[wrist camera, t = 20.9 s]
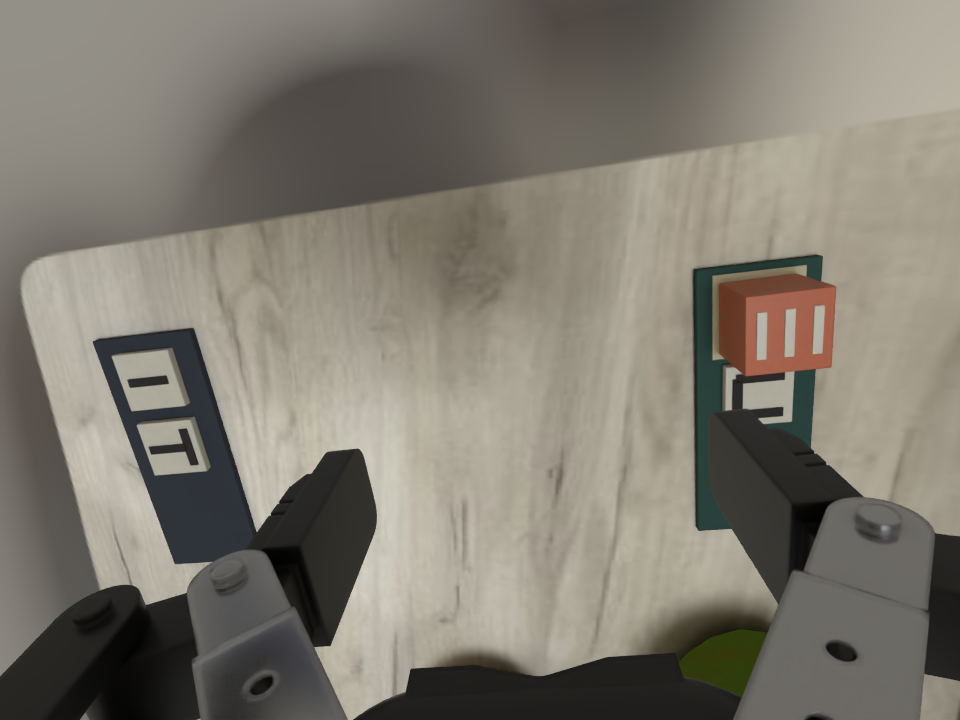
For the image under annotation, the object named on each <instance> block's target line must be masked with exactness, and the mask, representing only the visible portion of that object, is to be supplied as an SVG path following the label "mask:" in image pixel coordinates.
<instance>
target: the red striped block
mask: <svg viewBox="0 0 960 720" xmlns="http://www.w3.org/2000/svg"><path fill="white" fill-rule="evenodd" d="M835 297H836V286H834V285H831V284H828V283H824V282H821V281H818V280H815V279H812V278H809V277H806V276H803V275H800V274H790V275H782V276H774V277H766V278H758V279H751V280H743V281H735V282H727V283H720V284H719V354H720V355H721V356H722V357H723V358H725V359H726V360H727V361H728V362H729V363H730V364H732V365H733V366H734V367H735V368H736V369H737V370H739V371H740V372H741V373H742V374H743V375H744V376H754V375H764V374H773V373H782V372H792V371H801V370H811V369H820V368H829V367H831V365H832V348H833V331H834V314H835Z"/></svg>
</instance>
